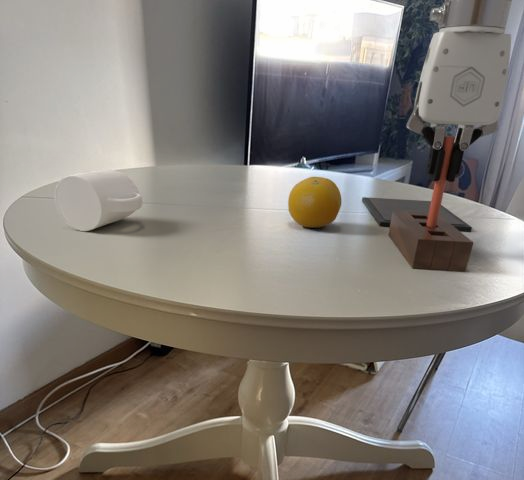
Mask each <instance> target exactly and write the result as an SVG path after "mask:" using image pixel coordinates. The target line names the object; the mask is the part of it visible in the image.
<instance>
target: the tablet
mask: <svg viewBox="0 0 524 480" xmlns="http://www.w3.org/2000/svg"><path fill="white" fill-rule="evenodd" d="M361 202H362V203H363V205H364V206H365V208H366V209H367V210H368V212H369V213H370V214H371V216H372V217H373V219H374V221H375V222H376V223H377V224H378V226H379V227H385V228H390V223H391V217H392V212H393V211H407V212H425V213H429V210H430V205H431V200H417V199H399V198H382V197H369V196H368V197H367V196H365V197H363V196H362V198H361ZM439 215H440V216H441V217H443V218H444V219H445V220H446V221H447V222H449V223H450V224H451V225H452V226H454V227H455V228H456V229H457V230H459V231H460V232H469V233H470V232H471V233H472V229H473V227H472V225H469V223H467V222H466V221H464V220H463V219H462V218H460V217H459V216H457V215H456V214H454V213H453V212H452V211H450V210H449V209H447V208H446V207H445V206H444V205H442V204H441V207H440V212H439Z"/></svg>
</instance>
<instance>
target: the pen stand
mask: <svg viewBox="0 0 524 480" xmlns="http://www.w3.org/2000/svg"><path fill="white" fill-rule="evenodd" d="M428 215H429V213H425V212H407V211H393V212H392V217H391V223H390V227H389V229H388V234H387V235H388V237H389V238H390V240H391V241H392V242H393V244H394V245H395V247H396V248H397V249H398V251H399V252H400V253H401V254H402V256H403V257H404V259H405V261H407V263H408V264H409V266H410V267H411V269H419V270H432V271H433V270H434V271H449V272H450V271H451V272H464V273H465V272H467V268H468V264H469V261H470V258H471V253H472V249H473V246H474V241H472V240H471V239H470V238H469V237H467V236H466V235H465V234H464V233H463V232H462V231H459V230H457V229H456V228H455V227H454V226H452V225H451V224H450V223H449V222H447V221H446V220H445V219H444V218H443V217H441V216H440V215H439V216H438V221H437V226H436V227H428V226H427V220H428Z"/></svg>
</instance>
